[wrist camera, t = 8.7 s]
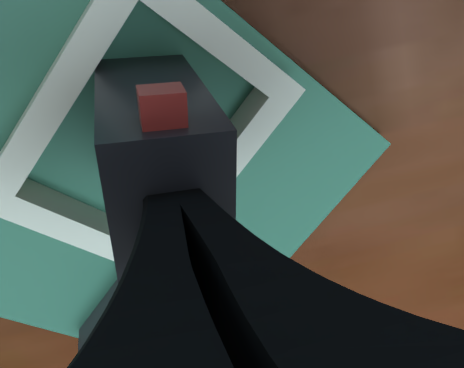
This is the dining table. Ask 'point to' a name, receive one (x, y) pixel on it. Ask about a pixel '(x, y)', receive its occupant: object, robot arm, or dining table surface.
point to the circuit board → (84, 157)
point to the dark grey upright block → (157, 141)
